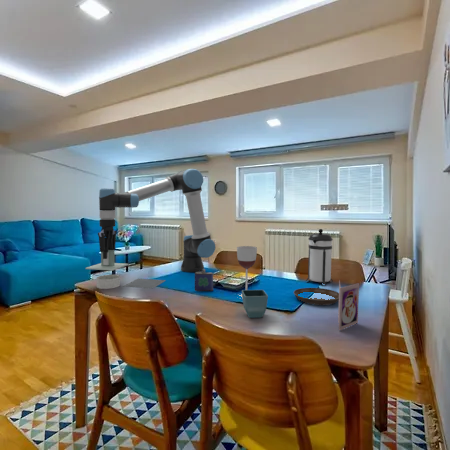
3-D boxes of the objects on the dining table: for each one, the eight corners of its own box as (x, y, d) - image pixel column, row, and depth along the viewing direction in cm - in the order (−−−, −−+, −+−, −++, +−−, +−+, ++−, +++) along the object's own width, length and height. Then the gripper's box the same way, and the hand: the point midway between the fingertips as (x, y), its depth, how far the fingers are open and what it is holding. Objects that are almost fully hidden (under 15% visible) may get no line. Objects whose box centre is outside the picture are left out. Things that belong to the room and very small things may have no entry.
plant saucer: (285, 296, 141) (285, 289, 141) (321, 292, 148) (321, 285, 148) (311, 310, 122) (311, 302, 122) (351, 304, 129) (351, 297, 129)
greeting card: (341, 332, 100) (343, 288, 99) (322, 325, 106) (323, 283, 105) (359, 324, 107) (361, 283, 106) (341, 318, 113) (342, 279, 112)
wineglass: (258, 294, 143) (258, 246, 141) (253, 300, 133) (254, 249, 132) (239, 292, 146) (240, 245, 144) (233, 298, 136) (234, 248, 135)
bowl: (123, 284, 159) (123, 275, 158) (112, 290, 148) (112, 280, 148) (105, 283, 161) (105, 274, 160) (92, 288, 150) (92, 278, 150)
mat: (166, 281, 167) (166, 280, 167) (153, 289, 150) (153, 288, 150) (138, 279, 170) (138, 278, 170) (122, 287, 153) (122, 286, 153)
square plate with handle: (128, 264, 159) (128, 248, 159) (112, 270, 145) (112, 253, 144) (103, 263, 162) (103, 247, 162) (85, 268, 148) (85, 251, 147)
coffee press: (339, 286, 159) (341, 230, 157) (309, 285, 159) (310, 229, 157) (328, 278, 176) (330, 227, 174) (301, 278, 176) (302, 227, 174)
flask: (213, 289, 150) (213, 268, 149) (212, 291, 147) (212, 270, 146) (195, 289, 150) (194, 268, 149) (194, 291, 147) (194, 269, 147)
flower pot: (241, 311, 119) (241, 289, 118) (262, 311, 119) (263, 289, 119) (244, 320, 110) (244, 296, 109) (267, 319, 111) (268, 296, 110)
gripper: (109, 218, 160) (110, 261, 162) (91, 219, 145) (91, 266, 147) (122, 218, 159) (122, 262, 160) (105, 219, 144) (105, 267, 145)
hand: (107, 264), depth 153 cm, fingers closed on square plate with handle, 2 cm apart
